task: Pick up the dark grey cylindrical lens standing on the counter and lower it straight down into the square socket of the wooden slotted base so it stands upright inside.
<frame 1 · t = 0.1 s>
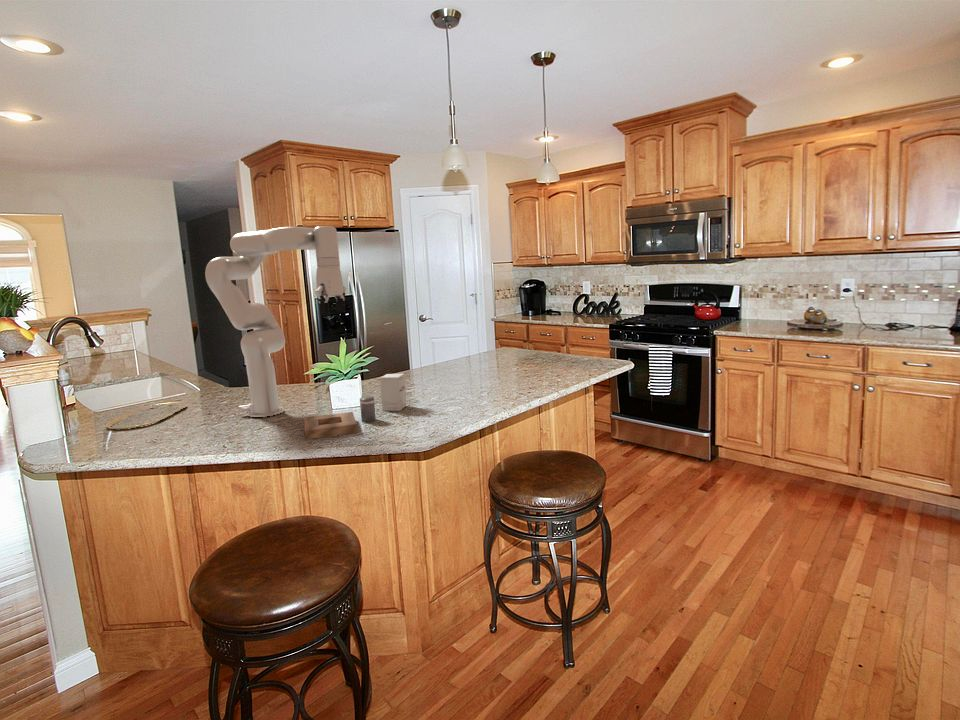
hand: (333, 313, 185), 37 cm above the countertop, tool pointing down, fingers open, 9 cm apart
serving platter: (149, 418, 205), on the countertop
wooden slotted base: (330, 429, 177), on the countertop
supplement box: (394, 408, 200), on the countertop
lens: (368, 420, 185), on the countertop
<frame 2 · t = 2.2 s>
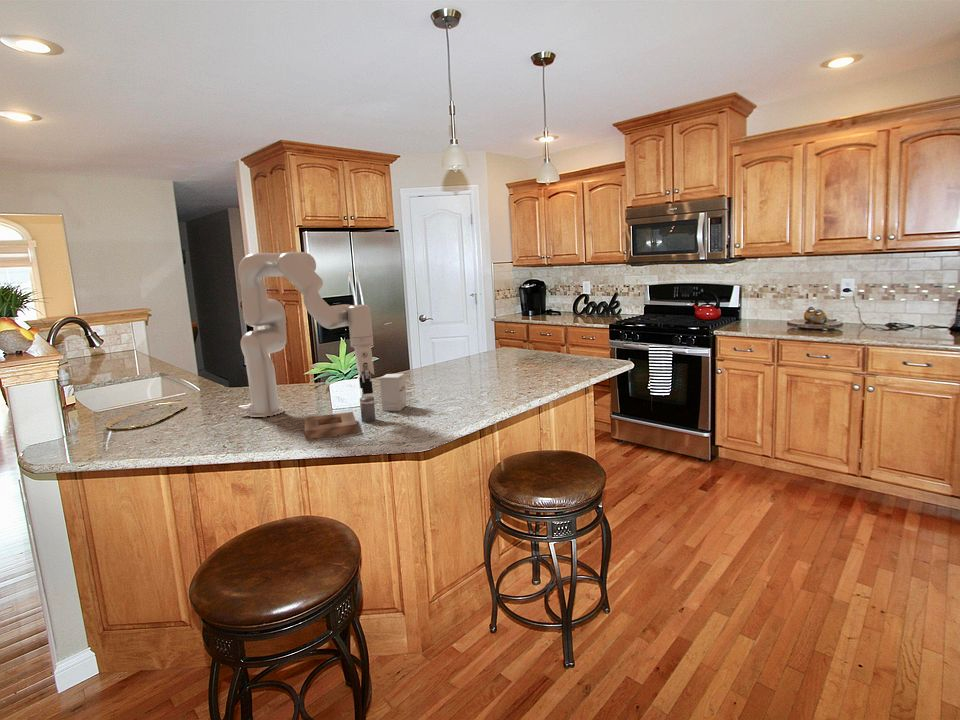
hand: (366, 390, 183), 11 cm above the countertop, tool pointing down, fingers open, 9 cm apart
nothing on the countertop moved.
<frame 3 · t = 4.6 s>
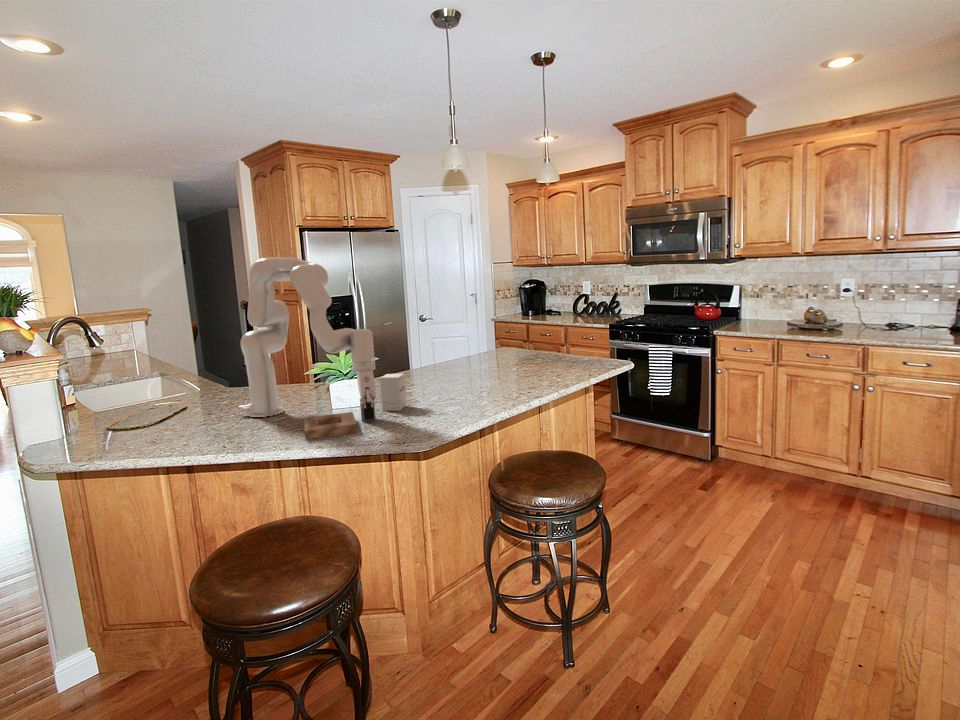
hand: (368, 416, 185), 1 cm above the countertop, tool pointing down, fingers closed on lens, 4 cm apart
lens: (368, 420, 185), on the countertop, touching gripper
everything else where it was.
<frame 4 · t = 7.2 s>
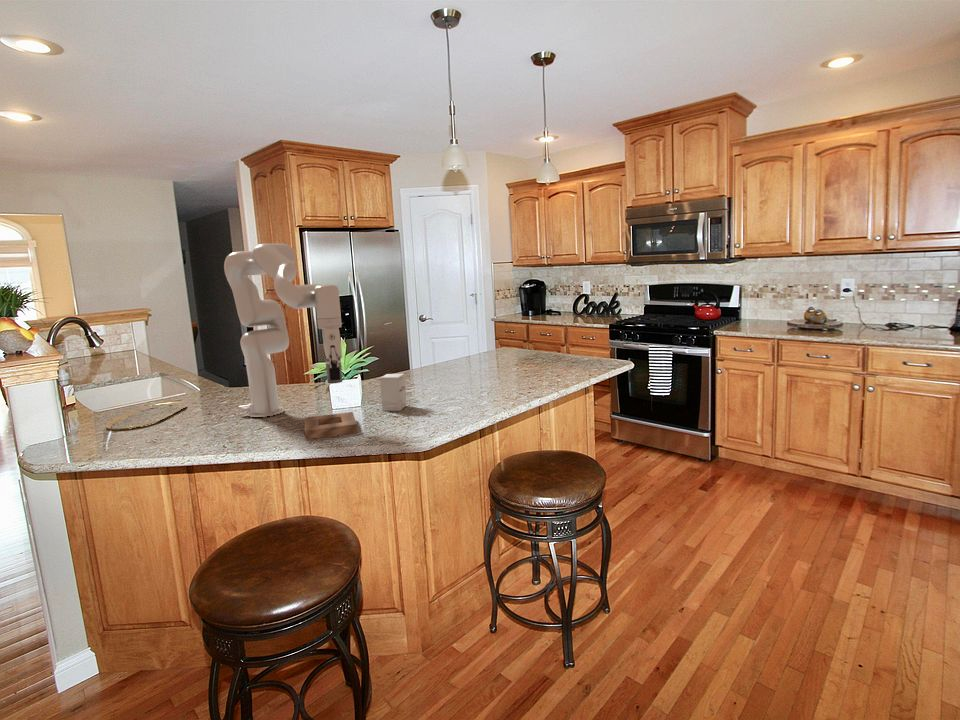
hand: (334, 377, 176), 17 cm above the countertop, tool pointing down, fingers closed on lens, 4 cm apart
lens: (335, 381, 176), point 16 cm above the countertop, touching gripper
everything else where it was.
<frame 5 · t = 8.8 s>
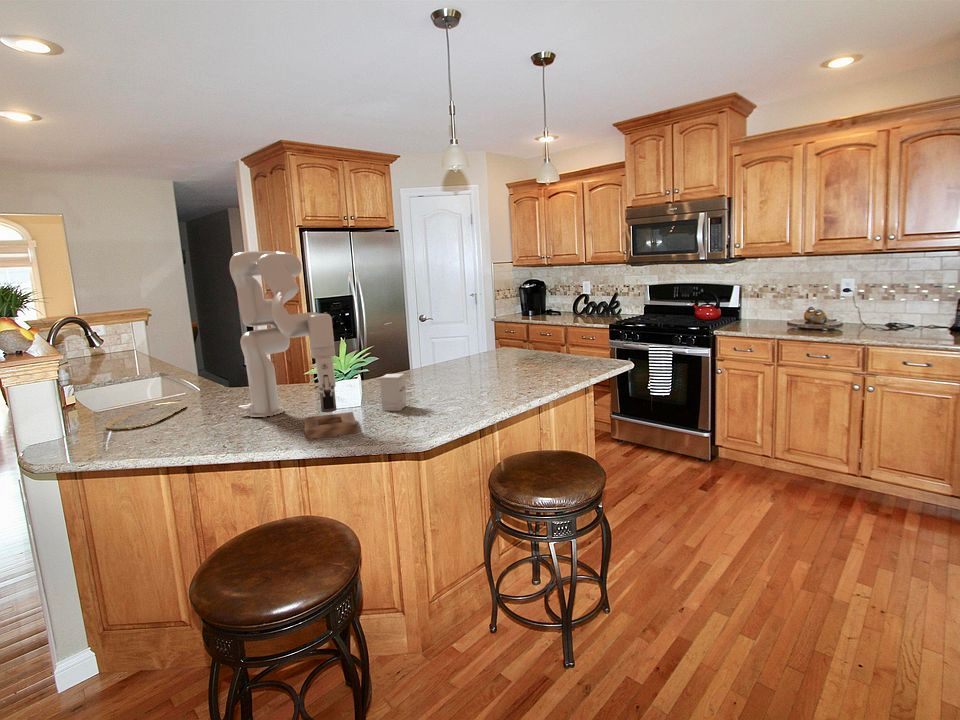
hand: (328, 406, 175), 8 cm above the countertop, tool pointing down, fingers closed on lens, 4 cm apart
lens: (329, 410, 175), point 7 cm above the countertop, touching gripper
everything else where it was.
when the fingers open (4 cm above the countertop, at t = 10.0 s): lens drops 2 cm, resting on wooden slotted base.
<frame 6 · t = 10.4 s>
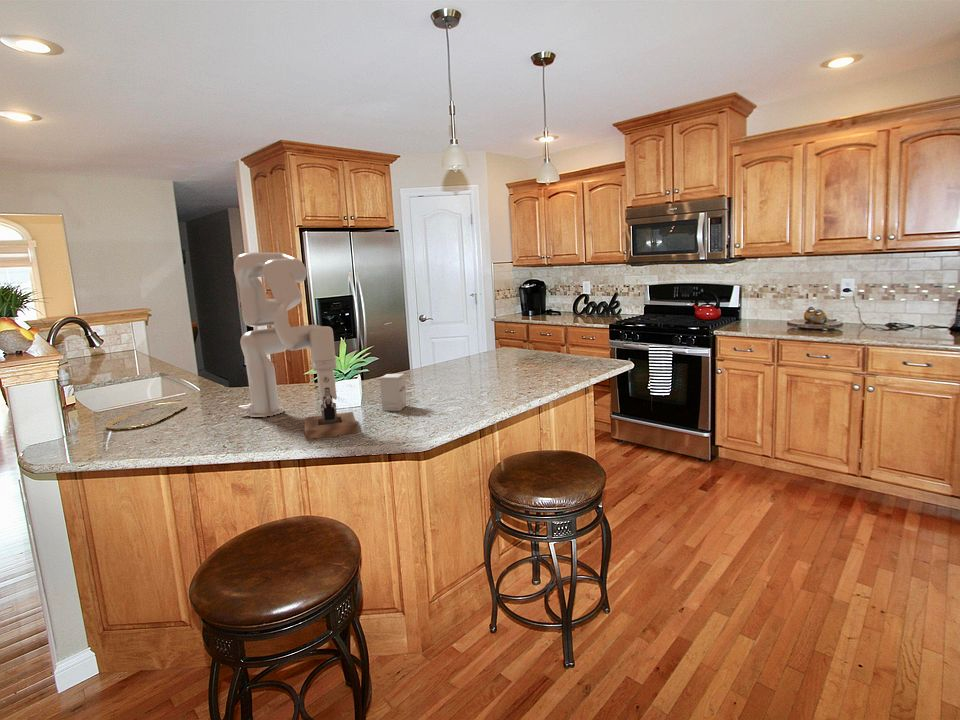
hand: (329, 415, 176), 5 cm above the countertop, tool pointing down, fingers open, 9 cm apart
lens: (330, 427, 176), point 1 cm above the countertop, touching wooden slotted base
everything else where it was.
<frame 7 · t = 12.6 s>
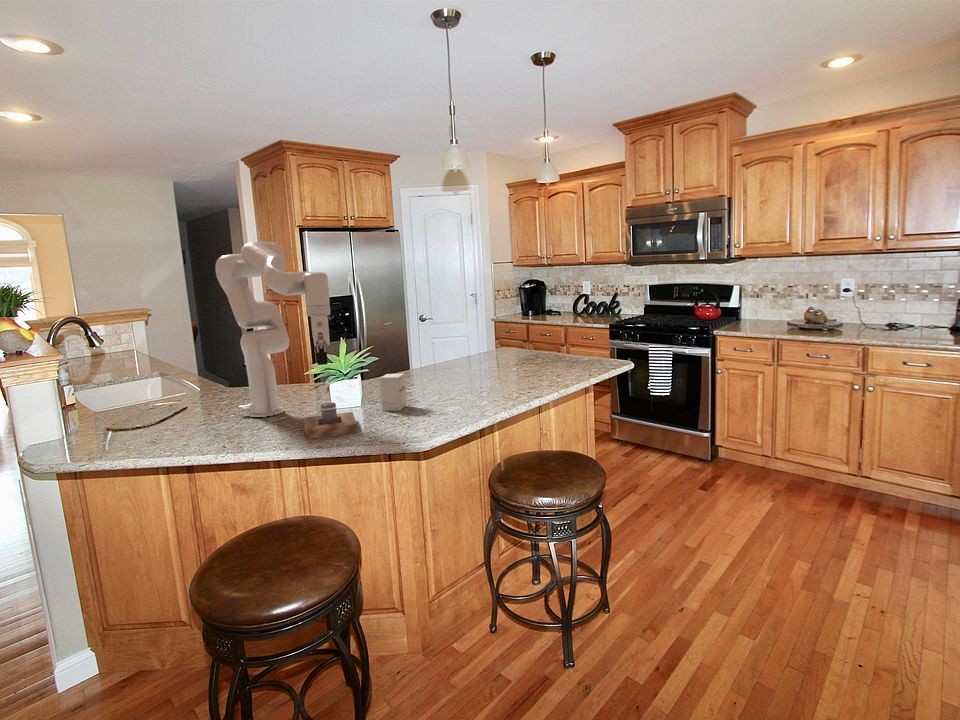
hand: (322, 361, 178), 22 cm above the countertop, tool pointing down, fingers open, 9 cm apart
nothing on the countertop moved.
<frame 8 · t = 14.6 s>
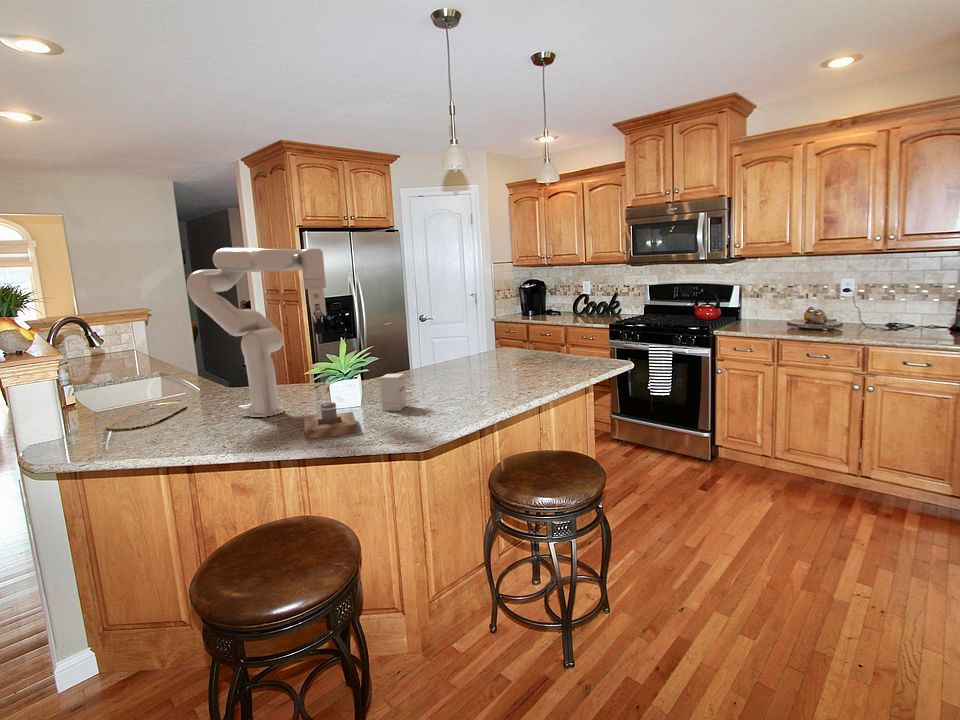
hand: (319, 332, 191), 30 cm above the countertop, tool pointing down, fingers open, 9 cm apart
nothing on the countertop moved.
at the end: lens 0.1 cm off-centre on the wooden slotted base, point 0.6 cm above the wooden slotted base's base; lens tilted 0°; the gripper is holding nothing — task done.
